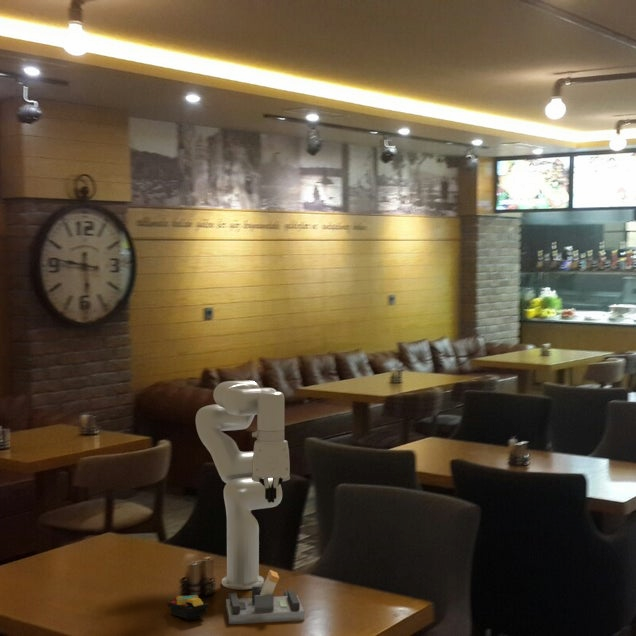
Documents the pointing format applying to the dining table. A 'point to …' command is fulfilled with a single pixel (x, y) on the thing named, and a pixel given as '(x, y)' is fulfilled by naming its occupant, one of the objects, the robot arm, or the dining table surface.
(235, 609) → the pair of grey posts
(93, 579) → the dining table surface
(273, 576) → the lever
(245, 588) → the robot arm
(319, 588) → the dining table surface
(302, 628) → the dining table surface
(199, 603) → the black basket
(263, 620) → the panel
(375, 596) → the dining table surface
